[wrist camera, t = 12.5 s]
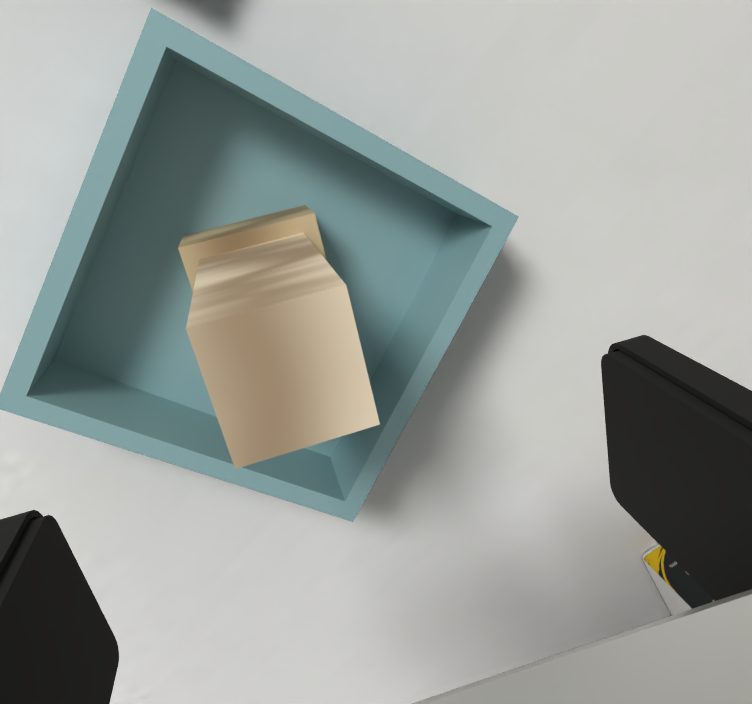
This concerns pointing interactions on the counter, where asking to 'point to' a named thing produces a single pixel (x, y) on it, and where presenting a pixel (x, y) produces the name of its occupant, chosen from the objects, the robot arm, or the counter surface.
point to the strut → (275, 336)
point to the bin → (226, 206)
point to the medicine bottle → (674, 582)
